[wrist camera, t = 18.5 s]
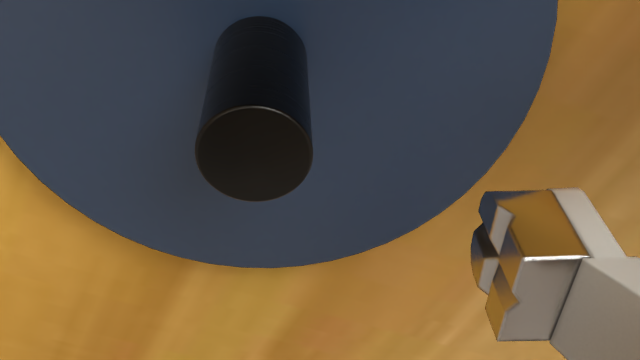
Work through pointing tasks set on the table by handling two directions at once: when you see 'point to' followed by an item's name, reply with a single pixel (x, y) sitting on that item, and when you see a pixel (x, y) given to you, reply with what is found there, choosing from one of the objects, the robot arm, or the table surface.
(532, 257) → the robot arm
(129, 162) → the pot lid
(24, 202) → the table surface
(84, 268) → the table surface
